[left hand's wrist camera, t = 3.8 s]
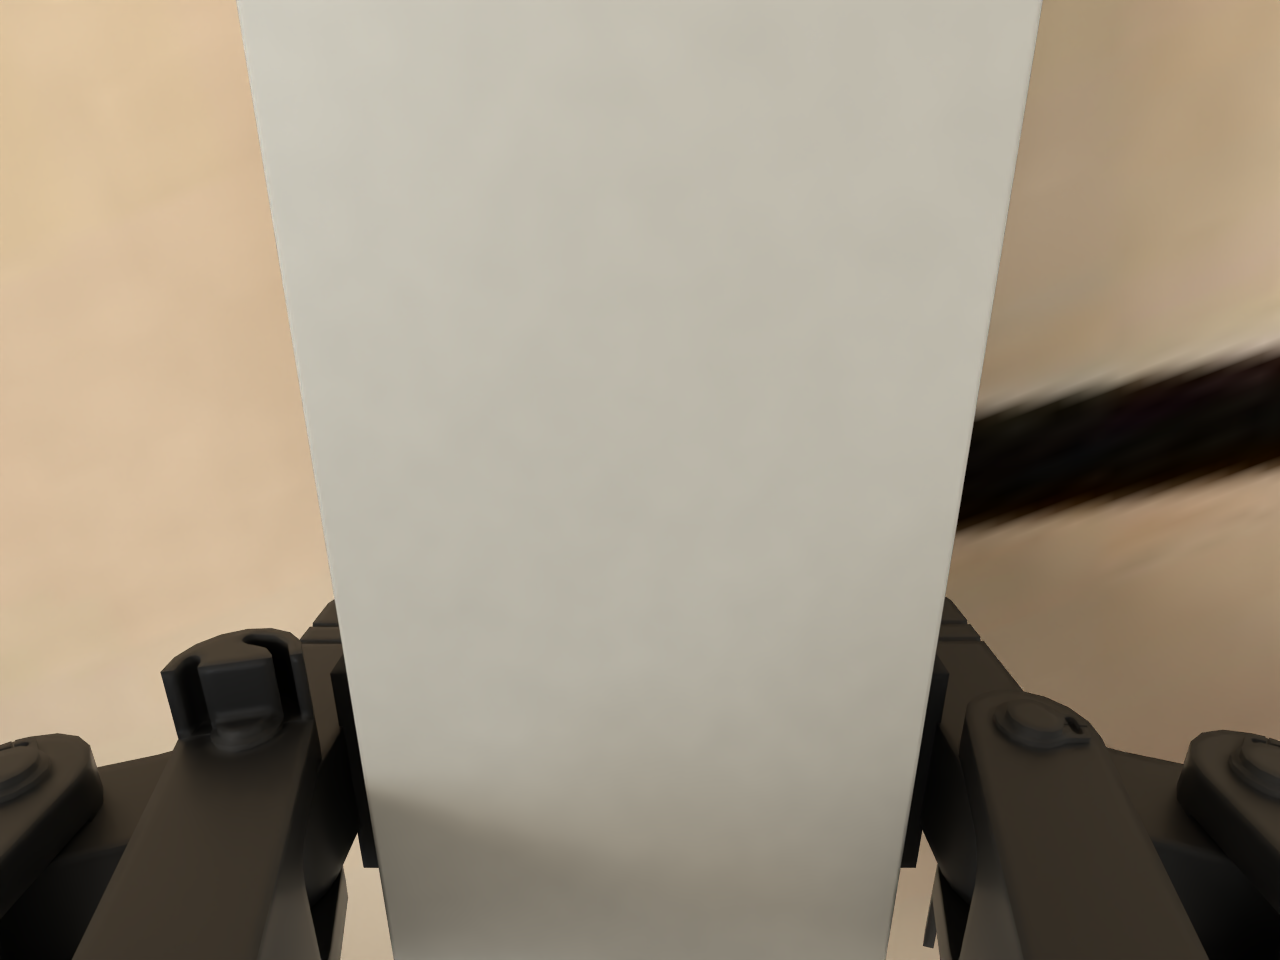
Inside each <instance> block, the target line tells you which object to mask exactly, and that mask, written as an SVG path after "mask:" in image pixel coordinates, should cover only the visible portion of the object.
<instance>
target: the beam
mask: <svg viewBox="0 0 1280 960" xmlns="http://www.w3.org/2000/svg"><path fill="white" fill-rule="evenodd" d="M236 2H237V8H238V14H239V21H240V27H241V33H242V39H243V45H244V51H245V57H246V63H247V69H248V75H249V81H250V87H251V94H252V100H253V106H254V112H255V118H256V124H257V130H258V136H259V142H260V148H261V154H262V160H263V167H264V173H265V179H266V185H267V191H268V197H269V203H270V209H271V215H272V221H273V227H274V233H275V239H276V246H277V252H278V258H279V264H280V270H281V276H282V282H283V288H284V294H285V300H286V306H287V312H288V319H289V325H290V331H291V337H292V343H293V349H294V355H295V361H296V367H297V373H298V379H299V385H300V391H301V398H302V404H303V410H304V416H305V422H306V428H307V434H308V440H309V446H310V452H311V458H312V464H313V471H314V477H315V483H316V489H317V495H318V501H319V507H320V513H321V519H322V525H323V531H324V537H325V543H326V550H327V556H328V562H329V568H330V574H331V580H332V586H333V592H334V598H335V604H336V610H337V616H338V623H339V629H340V635H341V641H342V647H343V653H344V659H345V665H346V671H347V677H348V683H349V689H350V695H351V702H352V708H353V714H354V720H355V726H356V732H357V738H358V744H359V750H360V756H361V762H362V768H363V775H364V781H365V787H366V793H367V799H368V805H369V811H370V817H371V823H372V829H373V835H374V841H375V847H376V854H377V860H378V866H379V872H380V878H381V884H382V890H383V896H384V902H385V908H386V914H387V920H388V927H389V933H390V939H391V945H392V951H393V957H394V960H885V959H886V953H887V947H888V941H889V935H890V928H891V922H892V916H893V910H894V904H895V898H896V892H897V886H898V880H899V874H900V868H901V861H902V855H903V849H904V843H905V837H906V831H907V825H908V819H909V813H910V807H911V800H912V794H913V788H914V782H915V776H916V770H917V764H918V758H919V752H920V746H921V740H922V733H923V727H924V721H925V715H926V709H927V703H928V697H929V691H930V685H931V679H932V673H933V666H934V660H935V654H936V648H937V642H938V636H939V630H940V624H941V618H942V612H943V605H944V599H945V593H946V587H947V581H948V575H949V569H950V563H951V557H952V551H953V545H954V538H955V532H956V526H957V520H958V514H959V508H960V502H961V496H962V490H963V484H964V478H965V471H966V465H967V459H968V453H969V447H970V441H971V435H972V429H973V423H974V417H975V410H976V404H977V398H978V392H979V386H980V380H981V374H982V368H983V362H984V356H985V350H986V343H987V337H988V331H989V325H990V319H991V313H992V307H993V301H994V295H995V289H996V283H997V276H998V270H999V264H1000V258H1001V252H1002V246H1003V240H1004V234H1005V228H1006V222H1007V215H1008V209H1009V203H1010V197H1011V191H1012V185H1013V179H1014V173H1015V167H1016V161H1017V155H1018V148H1019V142H1020V136H1021V130H1022V124H1023V118H1024V112H1025V106H1026V100H1027V94H1028V87H1029V81H1030V75H1031V69H1032V63H1033V57H1034V51H1035V45H1036V39H1037V33H1038V27H1039V20H1040V14H1041V8H1042V2H1043V0H236Z"/></svg>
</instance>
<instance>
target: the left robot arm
mask: <svg viewBox="0 0 1280 960" xmlns="http://www.w3.org/2000/svg"><path fill="white" fill-rule="evenodd" d="M161 676H162V679H163V683H164V687H165V691H166V694H167V698H168V702H169V705H170V709H171V713H172V717H173V720H174V724H175V728H176V731H177V735H178V741H177V743H176V745H175V747H174V750H173V751H170V752H166V753H163V754H159V755H155V756H150V757H145V758H140V759H135V760H131V761H126V762H121V763H116V764H111V765H107V766H102V767H97V766H96V763H95V760H94V757H93V754H92V751H91V748H90V745H89V744H87V743H86V742H85V741H84V740H82V739H81V738H80V737H79V736H73V735H66V734H59V733H57V734H49V735H41V736H33V737H27V738H23V739H18V740H15V742H8V743H5V744H2V745H0V960H340V956H341V948H342V940H343V933H344V925H345V917H346V909H347V901H348V895H347V887H346V880H345V874H344V869H343V863H344V861H345V859H346V857H347V855H348V852H349V850H350V848H351V846H352V844H353V841H354V839H355V837H356V835H357V832H358V838H359V843H360V849H361V855H362V861H363V866H364V868H379V866H378V860H377V854H376V847H375V841H374V835H373V829H372V823H371V817H370V811H369V805H368V799H367V793H366V787H365V781H364V775H363V768H362V762H361V756H360V750H359V744H358V738H357V732H356V726H355V720H354V714H353V708H352V702H351V695H350V689H349V683H348V677H347V671H346V665H345V659H344V653H343V647H342V641H341V635H340V629H339V623H338V616H337V610H336V604H335V599H334V600H333V601H331V602H329V603H328V604H327V606H326V607H325V608H324V609H323V611H322V612H321V613H320V615H319V616H318V617H317V618H316V620H315V621H314V622H313V627H309V629H308V630H307V631H306V632H305V634H304V635H303V636H302V637H301V639H300V640H299V639H298V638H297V637H295V636H294V635H293V634H292V633H290V632H286V631H282V630H277V629H273V628H264V629H245V630H241V631H236V632H231V633H226V634H222V635H219V636H216V637H214V638H211V639H208V640H206V641H203V642H201V643H198V644H196V645H194V646H192V647H191V648H189V649H187V650H186V651H184V652H182V653H181V654H179V655H178V656H176V657H174V658H173V659H172V660H171V662H170V663H169V664H168V665H167V666H166V667H165V668H164V669H163V670H162V671H161ZM922 830H923V832H924V834H925V836H926V839H927V841H928V843H929V845H930V847H931V850H932V852H933V854H934V856H935V858H936V861H937V863H938V864H937V869H936V874H935V880H934V885H933V890H932V896H931V901H930V906H929V912H928V917H927V922H926V928H925V935H924V943H923V946H926V947H930V948H933V947H934V942H935V937H936V932H937V939H938V946H939V954H940V960H1280V741H1277V740H1274V739H1271V738H1269V739H1268V738H1265V736H1260V735H1256V734H1252V733H1244V732H1236V731H1228V730H1218V731H1211V732H1204V733H1201V734H1200V735H1199V736H1197V737H1196V738H1195V739H1194V740H1192V741H1191V743H1190V746H1189V749H1188V752H1187V755H1186V758H1185V761H1184V764H1180V763H1175V762H1170V761H1165V760H1161V759H1156V758H1151V757H1146V756H1141V755H1136V754H1132V753H1127V752H1122V751H1118V750H1115V749H1111V748H1107V747H1106V746H1105V744H1104V742H1103V740H1102V738H1101V737H1100V735H1099V734H1098V733H1097V732H1096V730H1095V729H1094V728H1093V726H1092V725H1091V724H1090V723H1089V722H1088V721H1087V720H1085V719H1084V718H1083V717H1081V716H1080V715H1078V714H1077V713H1076V712H1074V711H1073V710H1071V709H1070V708H1069V707H1066V706H1064V705H1062V704H1060V703H1057V702H1055V701H1053V700H1051V699H1048V698H1046V697H1044V696H1039V695H1035V694H1031V693H1027V692H1023V690H1022V689H1021V688H1020V686H1019V685H1018V684H1017V683H1016V681H1015V680H1014V679H1013V678H1012V676H1011V675H1010V674H1009V673H1008V671H1007V670H1006V669H1005V668H1004V666H1003V665H1002V664H1001V663H1000V661H999V660H998V659H997V657H996V656H995V655H994V654H993V652H992V651H991V650H990V649H989V647H988V646H987V645H986V644H985V642H984V641H980V636H979V635H978V633H977V632H976V631H975V630H974V628H973V627H972V626H971V625H970V624H967V620H966V618H965V617H964V616H963V615H962V613H961V612H960V611H959V610H958V608H957V607H956V606H955V604H954V603H953V602H952V601H951V600H950V599H948V598H947V597H945V599H944V605H943V612H942V618H941V624H940V630H939V636H938V642H937V648H936V654H935V660H934V666H933V673H932V679H931V685H930V691H929V697H928V703H927V709H926V715H925V721H924V727H923V733H922V740H921V746H920V752H919V758H918V764H917V770H916V776H915V782H914V788H913V794H912V800H911V807H910V813H909V819H908V825H907V831H906V837H905V843H904V849H903V855H902V861H901V868H916V864H917V858H918V852H919V846H920V841H921V835H922Z"/></svg>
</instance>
